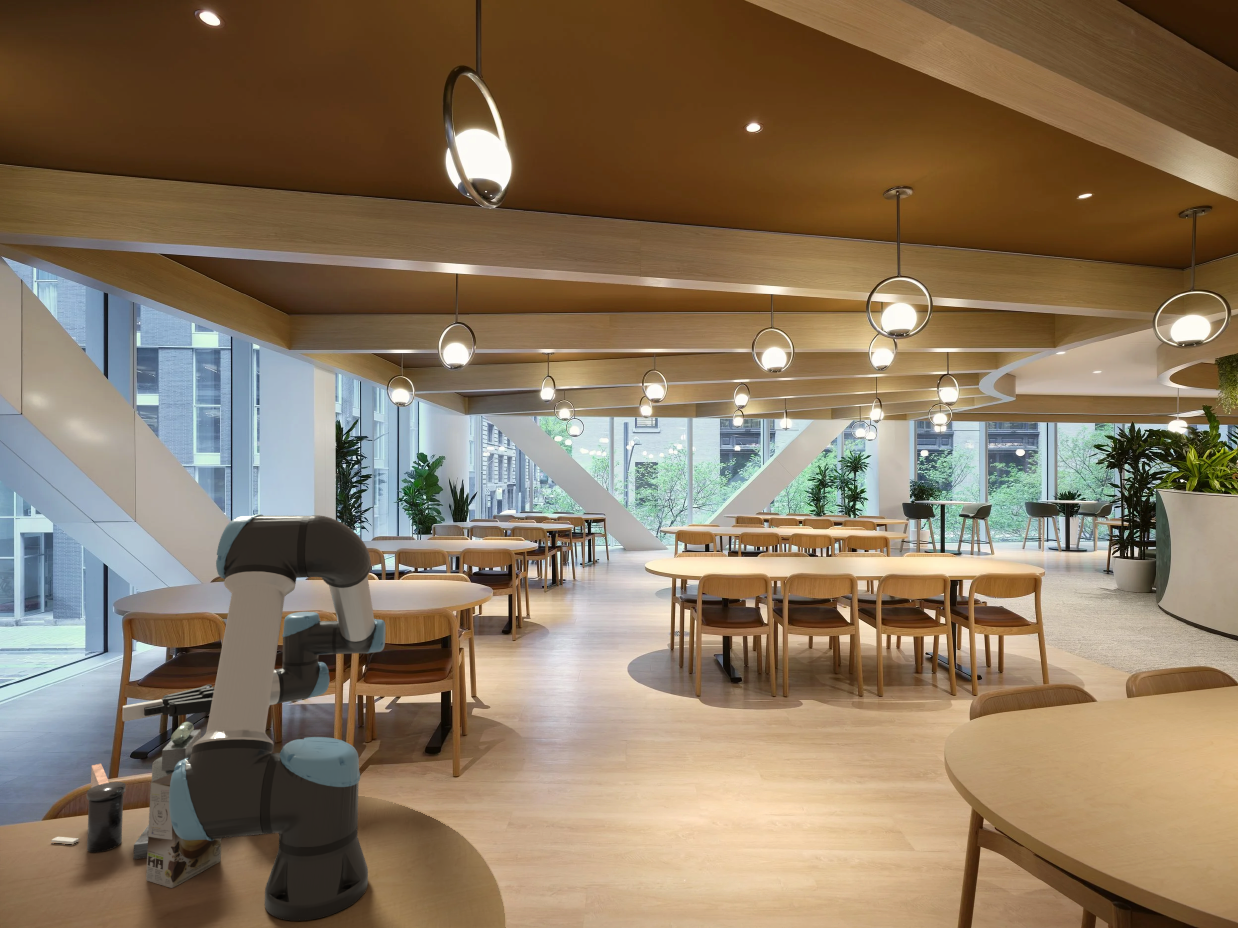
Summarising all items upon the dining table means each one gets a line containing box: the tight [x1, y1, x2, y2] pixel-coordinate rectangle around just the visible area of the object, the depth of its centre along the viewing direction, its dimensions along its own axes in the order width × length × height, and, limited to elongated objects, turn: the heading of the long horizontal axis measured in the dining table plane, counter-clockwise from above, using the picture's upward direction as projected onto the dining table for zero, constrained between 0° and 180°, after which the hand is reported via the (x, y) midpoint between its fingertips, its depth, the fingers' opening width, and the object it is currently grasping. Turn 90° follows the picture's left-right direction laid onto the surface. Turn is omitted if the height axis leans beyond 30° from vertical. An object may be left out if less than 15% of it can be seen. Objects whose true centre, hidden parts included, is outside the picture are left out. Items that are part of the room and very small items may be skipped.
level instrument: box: [132, 721, 202, 860], centre depth 129 cm, size 11×11×20 cm
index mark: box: [50, 836, 80, 845], centre depth 127 cm, size 4×1×1 cm, turn 82°
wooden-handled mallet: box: [86, 763, 127, 853], centre depth 130 cm, size 18×6×10 cm, turn 42°
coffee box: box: [145, 773, 222, 889], centre depth 118 cm, size 9×6×16 cm
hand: (123, 713), depth 138 cm, fingers closed
